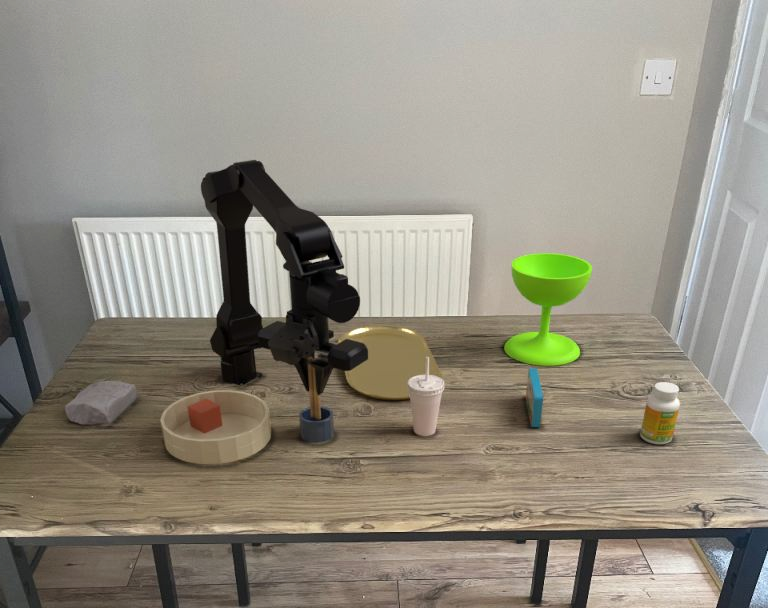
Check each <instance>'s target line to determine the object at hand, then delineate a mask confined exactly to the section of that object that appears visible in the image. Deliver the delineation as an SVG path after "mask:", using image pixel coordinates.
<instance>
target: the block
mask: <svg viewBox="0 0 768 608" xmlns="http://www.w3.org/2000/svg"><path fill="white" fill-rule="evenodd" d="M188 412H189V418H190V424H191V427H193V428H195V429H197V430H199V431H201V432H202V433H204V434H205V433H207V432H209V431H211V430H213V429H216V428H218V427H220V426H222V419H221V411H220V405H218V404H216V403H214V402H212V401H210V400H208V399H204V400H201V401H199V402H197V403H194V404H192V405H189V406H188Z"/></svg>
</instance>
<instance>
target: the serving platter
mask: <svg viewBox="0 0 768 608" xmlns="http://www.w3.org/2000/svg"><path fill="white" fill-rule="evenodd" d="M345 339H349V340H353V341H357V342H361V343H364V344H365V345H366V346H367V348H368V360H366V361H365V362H363V363H361V364H360V365H358V366H357V367H355V368H354V369H352V370H350V371H343V372H344V375H345V379H346V382H347V384H348V386H350V387H351V389H353V390H354V391H355V392H357V393H358V394H360V395H363V396H365V397H368V398H372V399H375V400H381V401H407V400H410V392H409V390H408V389H407V386H408V380H409V379H410V378H412V377H414V376H417V375H425V373H426V357H429V375H433V376H437V377H439V378H441V379H442V371H441V370H440V367H439V365H438V364H437V361H436V359H435V357H434V355H433V353H432V351H431V349H430V347H429V345H428V343H427V341H426V339H425V337H424V336H423V335H422V334H421V333H419V332H418V331H416V330H414V329H412V328H408V327H405V326H400V325H390V324H373V325H372V324H371V325H366V326H361V327H357V328H353V329H350V330H348V331H346V332H344V333H343V334H342V335H340V337H339V338H338V340H337V343H340V342H342V341H344V340H345Z"/></svg>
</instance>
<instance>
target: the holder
mask: <svg viewBox="0 0 768 608" xmlns="http://www.w3.org/2000/svg"><path fill="white" fill-rule="evenodd" d="M320 407H321V419H319V420H318V419H316V417H315V418H311V412H310V406H308V407H306V408H303V409H302V410H301V411H300V412H299V414H298V418H299V432H300V438H301V439H302V440H303V441H305V442H308V443H315V444H318V443H324V442H327V441H329V440H332V438H333V437H334V436H335V425H334V411H333V410H332V409H330V408H328V407H325V406H320Z"/></svg>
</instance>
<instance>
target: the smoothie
mask: <svg viewBox="0 0 768 608" xmlns="http://www.w3.org/2000/svg"><path fill="white" fill-rule="evenodd" d="M407 389H408V390H409V392H410V399H409V400H410V409H411V417H412V425H413V432H414V433H415V434H416V435H418V436H421V437H422V436H423V437H428V436H432V435H434V434H435V433H436V430H437V424H438V417H439V412H440V407H441V401H442V396H443V392H444V390H445V381H444V379H442V378H439V377H437V376H433V375H429V357H426V373H425V375H417V376H414V377H412V378H410V379H409V380H408V386H407Z"/></svg>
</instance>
